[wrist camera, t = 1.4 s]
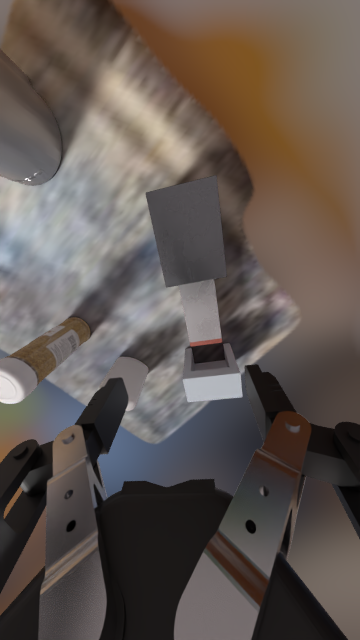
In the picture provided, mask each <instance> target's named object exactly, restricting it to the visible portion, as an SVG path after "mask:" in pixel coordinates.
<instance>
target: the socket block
mask: <svg viewBox="0 0 360 640" xmlns="http://www.w3.org/2000/svg"><path fill="white" fill-rule="evenodd" d="M223 346H224V354H225V360H221V361H213V362H204V363H196V364H195V363H194V358H193V353H192V348H187V349H185V359H184V371H183V383H184V387H185V391H186V396H187V400H188V402H195V401H206V400H216V399H227V398H238V397H242V386H241V376H240V371H239V368H238V365H237V362H236V360H235V357H234V354H233V351H232V348H231V345H230V343H225V344H223Z"/></svg>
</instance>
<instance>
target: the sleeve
mask: <svg viewBox="0 0 360 640" xmlns="http://www.w3.org/2000/svg"><path fill="white" fill-rule="evenodd" d="M146 198H147V202H148V207H149V211H150V216H151V220H152V225H153V230H154V234H155V239H156V243H157V248H158V252H159V257H160V262H161V266H162V271H163V275H164V280H165V285H166V287H172V286H178V285H183V284H189V283H194V282H200V281H206V280H211V279H217V278H223V277H227V273H226V263H225V254H224V244H223V234H222V224H221V215H220V205H219V195H218V186H217V176H216V175H215V176H211V177H207V178H203V179H199V180H195V181H191V182H187V183H183V184H179V185H175V186H171V187H167V188H163V189H159V190H155V191H151V192H147V193H146Z"/></svg>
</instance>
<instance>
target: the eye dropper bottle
mask: <svg viewBox="0 0 360 640" xmlns="http://www.w3.org/2000/svg"><path fill="white" fill-rule="evenodd" d="M148 371H149V369H148V367H147V366H146V365H145V364H144V363H142V362H141V361H139V360H137V359H134V358H131V357H119V358H118V359H117V360H116V361H115V363H114V364H113V366H112V367H111V369H110V370H109V372H108V373H107V375H106V376H105V378H104V379H103V381H102V383H101V384H100V386H99V388H98V390H99V389H100V388H101V387H104V386H105V384H106V383H107V381H108V380H109V379H110V378H118V377H121V378H122V379H123V381H124V384H125V387H126V390H127V393H128V397H129V401H128V406H127V408H126V411H129V410H132V409H134V407H135V406H136V404H137V401H138V399H139V396H140V393H141V391H142V388H143V385H144V382H145V379H146V377H147V374H148Z"/></svg>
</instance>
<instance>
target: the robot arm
mask: <svg viewBox="0 0 360 640" xmlns="http://www.w3.org/2000/svg"><path fill="white" fill-rule="evenodd" d="M61 154H62V142H61V136H60V131H59V128H58V125H57V122H56V119H55V117H54V115H53V113H52V111H51V109H50V108H49V107H48V105H47V104H46V102H45V101H44V100H43V99H42V98H41V97H40V96H39V95H38V94H37V93H36V92H35V91H34V90H33V88H32V86H31V84H30V81H29V78H28V76H27V75H26V74H25V73H24V72H23V71H22V70H21V69H20V68H19V67H18V66H17V65H16V64H15V63H14V62H13V61H12V60H11V59H10V58H9V57H8V56H7V55H6V54H5V53H4V52H3V51H2V50H1V49H0V176H1V177H4V178H7V179H9V180H12V181H15V182H19V183H22V184H25V185H32V186H34V185H40V184H43V183H45V182H47V181H48V180H49V179H51V178H52V177H53V175H54V174H55V173H56V171H57V169H58V166H59V164H60V160H61ZM245 383H246V391H247V395H248V398H249V401H250V404H251V407H252V409H253V413H254V415H255V418H256V421H257V424H258V427H259V430H260V433H261V436H262V438H263V441H264V444H263V446H262V448H261V449H257V450H256V451H255V453H254V455H253V457H252V459H251V461H250V463H249V465H248V467H247V469H246V471H245V473H244V476H243V478H242V480H241V482H240V484H239V486H238V488H237V490H236V492H235V494H234V497H233V496H232V495H230V494H229V493H227V492H225V491H223V490H221V489H218V488H215V482H214V479H202V480H201V479H200V480H189V481H186V482H183V483H180V484H177V485H174V486H171V487H163V486H160V485H157V484H153V483H150V482H147V481H127V482H126V481H125V482H124V484H123V487H122V491H119V492H117V493H115V494H113V495H112V496H110V497H108V498H107V495H106V491H105V487H104V483H103V479H102V475H101V470H100V467H99V463H98V461H97V459H98V457H99V455H100V454H108V452H109V450H110V447H111V445H112V442H113V440H114V438H115V435H116V433H117V430H118V428H119V425H120V423H121V420H122V418H123V416H124V413H125V411H126V408H127V406H128V401H129V397H128V393H127V390H126V387H125V384H124V381H123V379H122V378H121V377H118V378H110V379H109V380H108V381H107V383H106V384H105V386H104V387H101V388H100V389H99V390H98V391H97V392H96V393H95V394H94V396H93V397H92V399H91V400H90V402H89V403H88V406H86V408H85V409H84V411H83V413H82V414H81V416H80V417H79V419H78V420H77V422H76V423H75V425H73V426H70V427H68V428H66V429H65V430H63V431H62V432H60V433H59V434H58V435H57V437H56V438H55V440H54V441H51V442H48V443H46V444H43V445H40V446H39V444H38V443H37V441H36V440H33V439H31V440H27V441H24V442H22V443H21V444H19V445H17V446H16V447H15V448H14V449H12V450H11V451H10V452H9V453H8V455H7V456H6V457H5V458H4V459H3V461H2V462H1V463H0V593H1V591H2V589H3V587H4V585H5V583H6V582H7V580H8V578H9V576H10V574H11V572H12V570H13V568H14V566H15V564H16V562H17V561H18V558H19V557H20V555H21V553H22V551H23V549H24V547H25V545H26V543H27V541H28V539H29V537H30V535H31V534H32V532H33V530H34V528H35V526H36V524H37V522H38V520H39V518H40V516H41V514H42V512H43V510H44V509H45V506H46V505H47V512H46V513H47V514H46V517H47V518H46V562H45V564H46V565H45V566H44V567H43V568H42V570H41V571H40V572H39V573H38V574H37V575H36V576H35V577H34V578H33V580H32V581H31V582H30V583H29V584H28V585H27V586H26V587H25V589H24V590H23V591H22V592H21V593H20V594H19V595H18V597H17V598H16V599H15V600H14V601H13V602H12V603H11V604H10V606H8V608H7V609H6V610H5V611H4V612H3V613H2V614H1V615H0V640H348V639H347V638H346V636H345V635H344V634H343V632H342V631H341V630H340V629H339V628H338V626H337V625H336V624H335V622H334V621H333V620H332V618H331V617H330V616H329V615H328V613H327V612H326V611H325V609H324V608H323V607H322V606H321V604H320V603H319V602H318V601H317V599H316V598H315V597H314V595H313V594H312V593H311V591H310V590H309V589H308V588H307V586H306V585H305V584H304V582H303V581H302V580H301V579H300V577H299V576H298V575H297V574H296V572H295V571H294V570H293V568H292V567H291V566H290V565H289V563H288V562H287V559H288V555H289V551H290V546H291V542H292V537H293V533H294V528H295V521H296V517H297V512H298V507H299V503H300V499H301V495H302V491H303V487H304V482H305V478H306V476H308V477H311V478H315V479H318V480H322V481H325V482H328V483H331V484H332V486H333V488H334V490H335V491H336V494H337V496H338V497H339V499H340V501H341V503H342V505H343V507H344V509H345V511H346V513H347V515H348V517H349V519H350V521H351V523H352V525H353V527H354V529H355V531H356V533H357V535H358V536H359V539H360V425H358V424H356V423H351V422H341V423H338V424H337V425H336V426H335V429H332V428H327V427H322V426H317V425H314V424H311V423H309V422H308V420H307V419H306V418H305V417H303V416H302V415H300V414H298V413H297V412H296V411H295V409H294V408H293V406H292V404H291V403H290V401H289V399H288V397H287V396H286V394H285V392H284V391H283V389H282V388H281V386H280V385H279V382H278V381H277V379H276V378H275V377H274V376H273V375H272V374H270V373H269V372H262V371H261V370H260V368H259V366H258V365H257V364H256V365H245ZM19 487H21V488H22V489H23V491H22V493H21V494H20V496H19V497H18V499H17V501H16V502H15V503H14V505H13V507H12V508H11V510H10V511H9V513H8V514H7V516H6V518H5V519H4V517H3V516H4V511H5V508H6V506H7V504H8V503H9V502H10V500H11V499H12V497H13V496H14V494H15V493H16V491H17V490H18V488H19Z"/></svg>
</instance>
